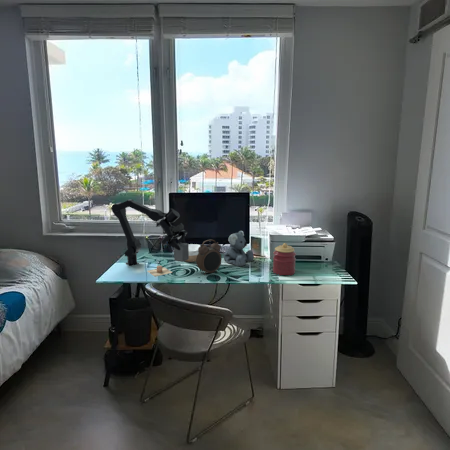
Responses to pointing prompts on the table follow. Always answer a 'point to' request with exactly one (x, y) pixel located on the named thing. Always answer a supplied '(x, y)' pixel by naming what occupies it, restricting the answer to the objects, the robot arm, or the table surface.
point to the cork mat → (155, 273)
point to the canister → (284, 260)
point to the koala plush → (238, 250)
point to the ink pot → (159, 269)
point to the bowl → (193, 252)
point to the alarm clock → (209, 257)
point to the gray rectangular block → (181, 252)
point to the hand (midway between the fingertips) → (183, 248)
